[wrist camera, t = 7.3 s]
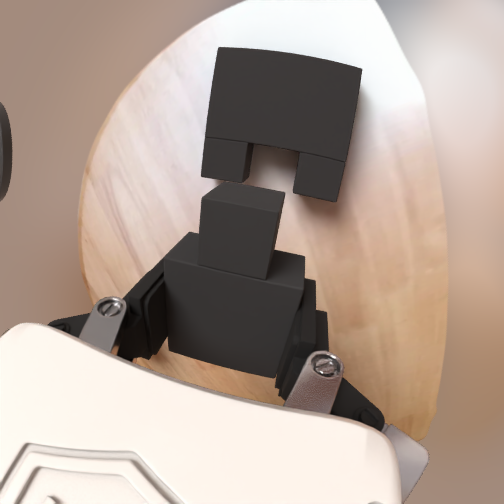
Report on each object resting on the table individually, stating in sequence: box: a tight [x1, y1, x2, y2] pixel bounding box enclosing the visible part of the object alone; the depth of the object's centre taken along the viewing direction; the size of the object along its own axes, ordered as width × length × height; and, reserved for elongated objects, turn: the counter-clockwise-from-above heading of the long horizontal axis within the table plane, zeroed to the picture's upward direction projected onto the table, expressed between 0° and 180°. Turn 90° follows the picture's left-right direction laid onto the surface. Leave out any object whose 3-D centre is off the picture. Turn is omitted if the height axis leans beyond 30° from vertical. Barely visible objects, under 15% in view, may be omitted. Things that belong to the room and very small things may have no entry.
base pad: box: [201, 47, 362, 202], centre depth 18 cm, size 10×10×2 cm
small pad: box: [164, 181, 305, 378], centre depth 11 cm, size 7×5×2 cm
